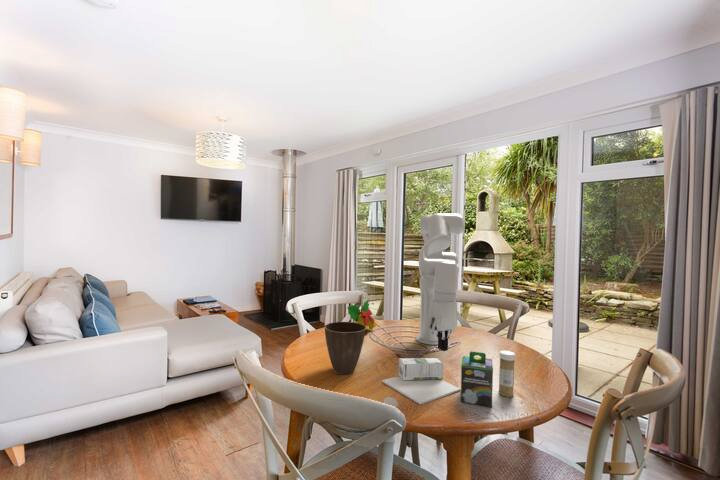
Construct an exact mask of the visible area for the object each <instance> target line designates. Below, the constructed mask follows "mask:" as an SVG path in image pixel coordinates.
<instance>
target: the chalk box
mask: <svg viewBox="0 0 720 480" xmlns="http://www.w3.org/2000/svg"><path fill="white" fill-rule="evenodd" d="M476 356H477V357H476ZM478 356H479V357H478ZM486 356H487V355H486V352H478V351H470V352H469V356H465V355H464V356H462V358H461V367H460V370H461V371H460V372H461V373H460V374H461V375H460V389H461V391H460V403H464V404H465V403H466V404H471V405H476V406H482V407H486V408H493V387H494V386H493V382H494V381H493V380H494V366H493V359H492V358H487V357H486Z"/></svg>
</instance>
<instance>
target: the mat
mask: <svg viewBox="0 0 720 480" xmlns="http://www.w3.org/2000/svg"><path fill="white" fill-rule="evenodd" d="M381 381H382V383H383V384H385V385H387V386H388V387H390V388H391V389H393V390H395V391H396V392H398V393H400V394H401V395H403V396H404V397H407V398H408V399H410V400H411V401H412V402H413V401H414V403H416V404H418V405H420V406H421V405H423V404H426V403H429V402H432V401H435V400H438V399H441V398H444V397H446V396H450V395H452V394H456V393H458V392H461V388H460V387H457V386H456V385H453V384H451V383H449V382H447V381H445V380H444V379H440V380H403V379H402V378H401V376H400V375H398V376H395V377H394V376H392V377H390V378H386V379H384V380H383V379H382V380H381Z"/></svg>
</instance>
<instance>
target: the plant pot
mask: <svg viewBox="0 0 720 480" xmlns="http://www.w3.org/2000/svg"><path fill="white" fill-rule="evenodd" d="M365 329H366V327H365V326H364V325H362V324H359V323H357V322H356V323H355V321H354V322H353V321H335V322H330V323H326V324H325V325H324V335H325V343H326V347H327V351H328V352H327V353H328V356H329V360H330V364H331V367H332V369H333V372H334V373H336V374H339V375H350V374H353V373H354V372H355V370H356V367H357V365H358V362H359V360H360V357H361V353H362V349H363V345H364V340H365V336H366V331H365Z"/></svg>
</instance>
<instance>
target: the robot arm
mask: <svg viewBox="0 0 720 480" xmlns="http://www.w3.org/2000/svg"><path fill="white" fill-rule="evenodd" d="M464 227H465V221H464V218H463V216H462V215H461V214H460V213H444V212H441V213H440V212H439V213H437V212H436V213H434V214H427V215H423V216H421V217H420V218H419V229H420V233H421V236H422V240H423V246H422V247H421V249H420V250H419V252H418V253H419V254H418V273H419V275H420V278H419V291H420V293H419V294H420V311H419V312H420V313H419V334H418V335H417V336H416V337H415V340H416V341H417V342H418V343H420V344H424V345H430V346H431V345H433V346H434V345H436V346H437V349H438V350H439V351H442V352H447V351H448V350H449V339H450V337H451V334H452V333H453V332H455V331H456V328H457V326H458V304H457V300H456V299H457V292H458V286H459V285H458V284H459V271H460V267H459V259H458V255H457V254H456V252H452V251H445V250H446V249H448V248H449V247H450V246H451V245H452V244H451V243H452V237H451V235H460V234H462V233H463V231H464Z"/></svg>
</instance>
